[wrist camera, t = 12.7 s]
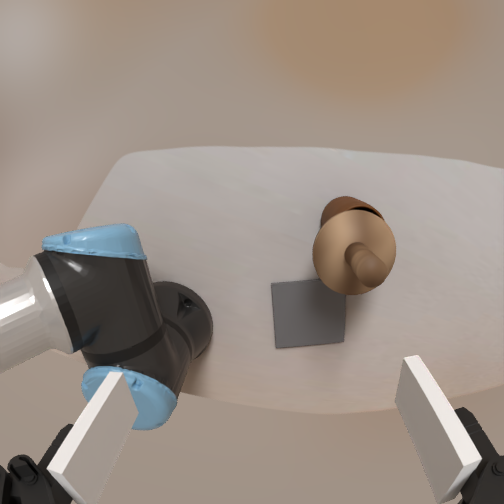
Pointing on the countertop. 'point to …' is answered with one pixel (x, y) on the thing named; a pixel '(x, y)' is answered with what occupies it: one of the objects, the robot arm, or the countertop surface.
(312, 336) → the mat
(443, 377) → the countertop surface
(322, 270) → the lid
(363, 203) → the mug
